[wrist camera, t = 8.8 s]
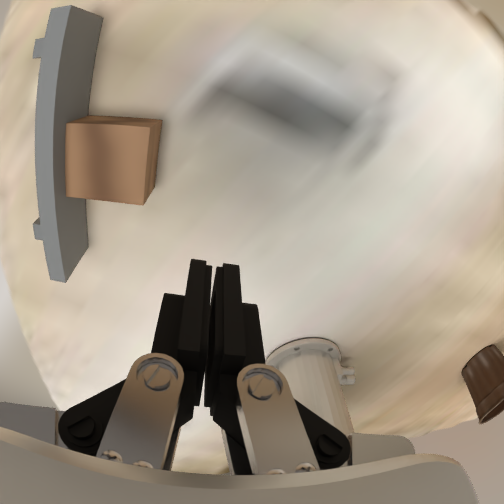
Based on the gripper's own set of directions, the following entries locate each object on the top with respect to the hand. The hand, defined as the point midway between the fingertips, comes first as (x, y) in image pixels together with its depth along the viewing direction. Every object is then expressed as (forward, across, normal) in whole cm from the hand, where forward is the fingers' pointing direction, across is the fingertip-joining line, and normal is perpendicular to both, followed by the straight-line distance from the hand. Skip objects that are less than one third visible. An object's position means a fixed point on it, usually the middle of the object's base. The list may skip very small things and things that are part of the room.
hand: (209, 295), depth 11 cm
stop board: (+21, +17, 0) cm, 27 cm away
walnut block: (+21, +10, +1) cm, 23 cm away
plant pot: (+22, -72, +34) cm, 82 cm away
